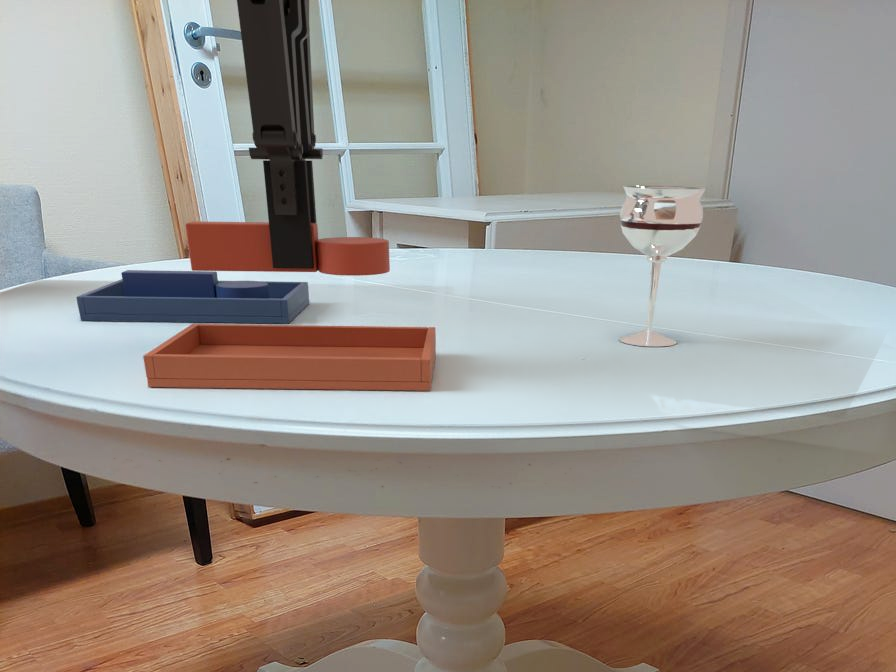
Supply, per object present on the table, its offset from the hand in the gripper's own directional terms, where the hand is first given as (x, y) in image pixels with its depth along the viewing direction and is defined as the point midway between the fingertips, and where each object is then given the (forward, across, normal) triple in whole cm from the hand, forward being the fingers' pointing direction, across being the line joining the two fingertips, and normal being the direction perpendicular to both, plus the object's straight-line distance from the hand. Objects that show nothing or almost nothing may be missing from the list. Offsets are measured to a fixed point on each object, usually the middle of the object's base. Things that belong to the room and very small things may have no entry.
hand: (296, 265), depth 62 cm
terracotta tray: (+7, 0, 0) cm, 7 cm away
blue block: (+6, +25, +14) cm, 29 cm away
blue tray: (+7, +25, +14) cm, 30 cm away
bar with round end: (0, 0, 0) cm, 0 cm away
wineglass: (+7, +13, -28) cm, 32 cm away
